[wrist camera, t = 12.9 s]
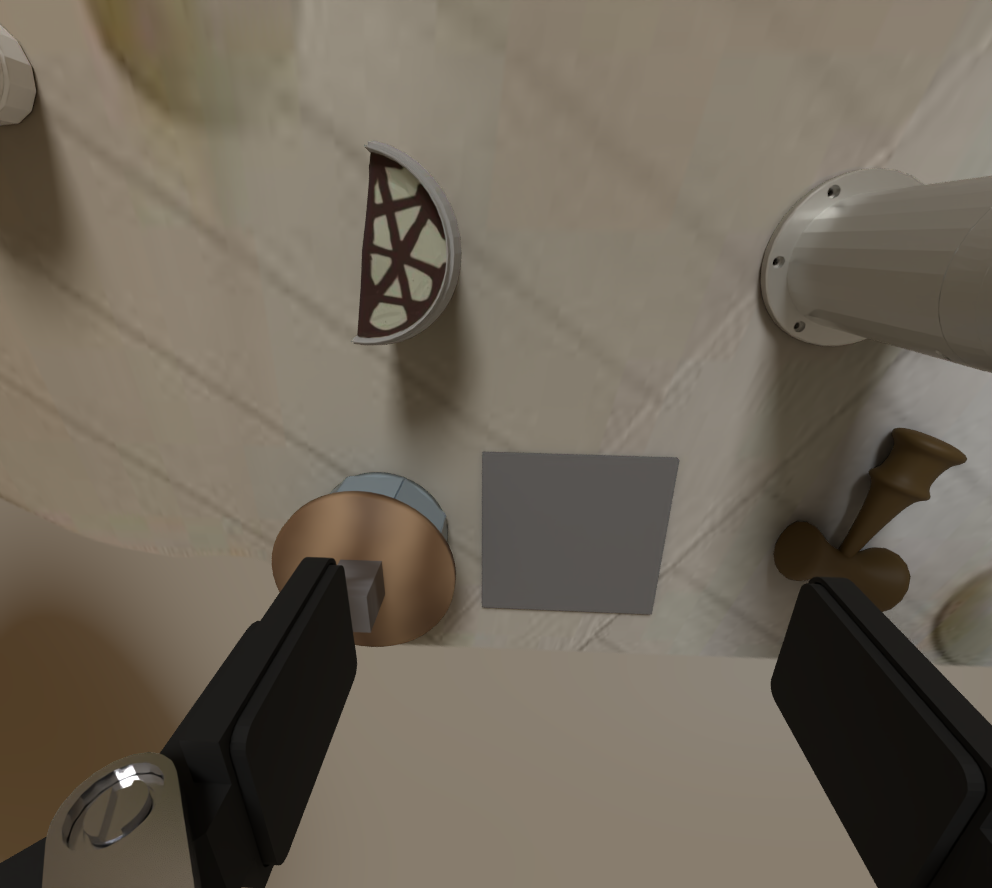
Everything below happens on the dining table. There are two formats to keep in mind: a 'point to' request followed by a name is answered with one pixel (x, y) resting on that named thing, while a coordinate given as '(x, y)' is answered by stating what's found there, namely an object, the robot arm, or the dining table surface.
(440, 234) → the food container
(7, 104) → the white cup
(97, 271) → the dining table surface
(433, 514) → the bowl
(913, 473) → the kendama
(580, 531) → the mat
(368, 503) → the lid
